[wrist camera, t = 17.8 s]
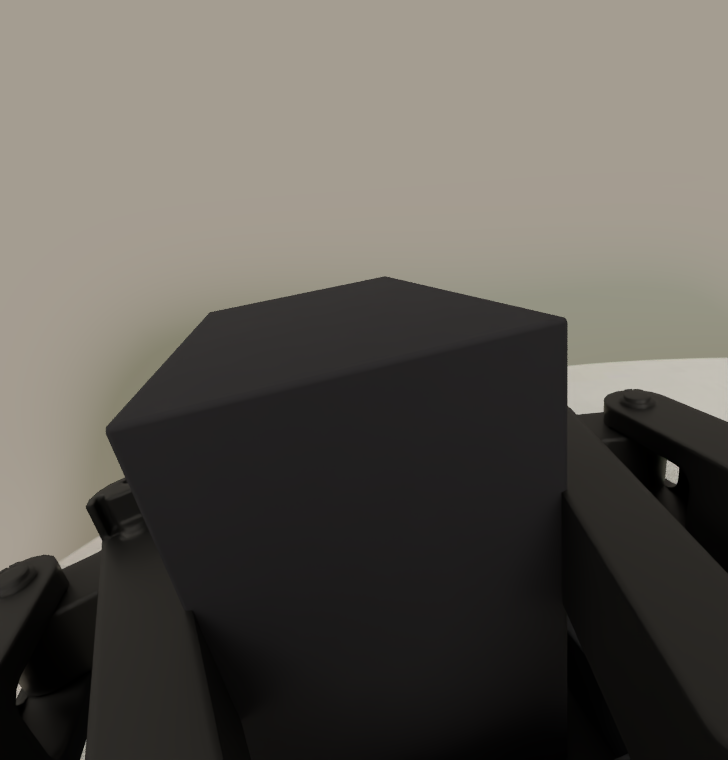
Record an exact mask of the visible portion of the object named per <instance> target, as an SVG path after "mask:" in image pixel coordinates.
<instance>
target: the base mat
mask: <svg viewBox="0 0 728 760" xmlns="http://www.w3.org/2000/svg"><path fill="white" fill-rule="evenodd" d="M566 760H631V758H630V756H629V753H628V751H627V749H626V747H625V744H624V742H623V740H622V738H621V735H620V733H619V731H618V728H617V726H616V724H615V722H614V719H613V717H612V715H611V713H610V710H609V708H608V706H607V703H606V701H605V699H604V697H603V694H602V692H601V690H600V688H599V685H598V683H597V681H596V678H595V676H594V674H593V672H592V669H591V667H590V665H589V663H588V660H587V658H586V656H585V653H584V651H583V649H582V647H581V644H580V642H579V640H578V638H577V635H576V633H575V631H574V628H573V626H572V624H571V622H570V619H569V617H568V615H567V759H566Z"/></svg>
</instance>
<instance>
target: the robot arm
mask: <svg viewBox="0 0 728 760" xmlns="http://www.w3.org/2000/svg"><path fill="white" fill-rule="evenodd" d="M667 460H669V461H670V462H672V463H674V464H675V465H677V466H678V467H679V477H678V482H677V485H676V484H674V483H672V482H670V481H668V480H667V479H665V474H666V463H667ZM86 509H87V511H88V513H89V515H90V517H91V519H92V521H93V523H94V525H95V527H96V529H97V531H98V533H99V535H100V537H101V539H102V550H101V551H99V552H97V553H95V554H94V555H92V556H90V557H87V558H85V559H83V560H81V561H79V562H77V563H75V564H72V565H70V566H68V567H66V568H64V569H61V567H60V565H59V563H58V562H57V560H56V559H55V557H54V556H50V555H41V556H36V557H32V558H29V559H26V560H24V561H21V562H17V563H15V564H13V565H11V566H9V568H5V569H4V570H2V571H0V760H80V758H81V755H82V752H83V748H84V745H85V742H86V754H85V760H251V758H250V754H249V750H248V746H247V743H246V739H245V735H244V731H243V727H242V724H241V720H240V718H239V716H238V714H237V711H236V709H235V707H234V704H233V702H232V700H231V698H230V695H229V693H228V691H227V688H226V686H225V684H224V681H223V679H222V677H221V675H220V672H219V670H218V668H217V665H216V663H215V661H214V659H213V656H212V654H211V652H210V649H209V647H208V645H207V643H206V640H205V638H204V636H203V633H202V631H201V629H200V627H199V624H198V622H197V620H196V617H195V615H194V613H193V611H192V610H190V611H184V609H183V606H182V604H181V602H180V600H179V597H178V595H177V593H176V591H175V588H174V586H173V584H172V582H171V579H170V577H169V575H168V573H167V570H166V568H165V566H164V564H163V561H162V559H161V557H160V555H159V552H158V550H157V548H156V545H155V543H154V541H153V539H152V536H151V534H150V532H149V530H148V527H147V525H146V523H145V521H144V518H143V516H142V514H141V512H140V509H139V507H138V505H137V503H136V500H135V498H134V496H133V494H132V491H131V489H130V487H129V485H128V482H127V480H126V478H123V479H121V480H118V481H116V482H114V483H112V484H110V485H108V486H107V487H105V488H104V489H102V490H100V491H99V492H97V493H96V494H95V495H94V496H93V497H92V498H91V499H90V500H89V502H88V503H87V505H86ZM562 603H563V606H564V608H565V610H566V613H567V615H568V617H569V619H570V622H571V624H572V626H573V628H574V631H575V633H576V635H577V638H578V640H579V642H580V644H581V647H582V649H583V651H584V653H585V656H586V658H587V660H588V663H589V665H590V667H591V669H592V672H593V674H594V676H595V678H596V681H597V683H598V685H599V688H600V690H601V692H602V694H603V697H604V699H605V701H606V703H607V706H608V708H609V710H610V713H611V715H612V717H613V719H614V722H615V724H616V726H617V728H618V731H619V733H620V735H621V738H622V740H623V742H624V744H625V747H626V749H627V751H628V753H629V756H630V758H631V760H728V422H726V421H724V420H721V419H719V418H716V417H714V416H712V415H709V414H707V413H704V412H702V411H699V410H697V409H694V408H692V407H690V406H687V405H685V404H682V403H680V402H677V401H675V400H673V399H670V398H668V397H665V396H663V395H660V394H656V393H653V392H647V391H643V390H640V389H633V390H632V389H627V390H624V391H618V392H614V393H611V394H609V395H607V396H606V397H605V398H604V412H601V413H591V414H581V415H576V414H575V413H574V412H573V410H572V409H571V408H569V407H568V406H567V490H566V491H564V492H562ZM18 683H19V684H20V686H21V687H22V689H21V691H20V693H19V695H18V697H17V699H16V689H17V686H18ZM86 739H87V741H86Z"/></svg>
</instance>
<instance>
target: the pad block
mask: <svg viewBox="0 0 728 760" xmlns="http://www.w3.org/2000/svg"><path fill="white" fill-rule="evenodd" d="M106 435H107V437H108V439H109V442H110V444H111V446H112V448H113V451H114V453H115V455H116V457H117V460H118V462H119V464H120V466H121V469H122V471H123V473H124V475H125V478H126V480H127V482H128V485H129V487H130V489H131V491H132V494H133V496H134V498H135V500H136V503H137V505H138V507H139V509H140V512H141V514H142V516H143V518H144V521H145V523H146V525H147V527H148V530H149V532H150V534H151V536H152V539H153V541H154V543H155V545H156V548H157V550H158V552H159V555H160V557H161V559H162V561H163V564H164V566H165V568H166V570H167V573H168V575H169V577H170V579H171V582H172V584H173V586H174V588H175V591H176V593H177V595H178V597H179V600H180V602H181V604H182V606H183V609H184V611H190V610H192V611H193V613H194V615H195V617H196V620H197V622H198V624H199V627H200V629H201V631H202V633H203V636H204V638H205V640H206V643H207V645H208V647H209V649H210V652H211V654H212V656H213V659H214V661H215V663H216V665H217V668H218V670H219V672H220V675H221V677H222V679H223V681H224V684H225V686H226V688H227V691H228V693H229V695H230V698H231V700H232V702H233V704H234V707H235V709H236V711H237V714H238V716H239V718H240V720H241V724H242V727H243V731H244V735H245V739H246V743H247V746H248V750H249V754H250V758H251V760H566V759H567V613H566V610H565V608H564V606H563V603H562V492H564V491H566V490H567V321H566V319H565V318H564V317H559V316H555V315H550V314H546V313H542V312H538V311H533V310H529V309H525V308H520V307H515V306H511V305H507V304H503V303H499V302H494V301H490V300H486V299H481V298H477V297H472V296H468V295H464V294H459V293H455V292H450V291H446V290H442V289H438V288H433V287H428V286H425V285H420V284H416V283H412V282H407V281H403V280H398V279H394V278H390V277H380V278H375V279H371V280H365V281H361V282H356V283H351V284H346V285H341V286H336V287H332V288H326V289H322V290H317V291H312V292H307V293H302V294H297V295H293V296H288V297H283V298H278V299H273V300H268V301H263V302H258V303H253V304H249V305H244V306H239V307H234V308H229V309H224V310H219V311H214V312H210V313H209V314H208V315H207V316H206V317H205V318H204V320H203V321H202V322H201V323H200V324H199V325H198V326H197V327H196V328H195V329H194V330H193V332H192V333H191V334H190V335H189V336H188V337H187V338H186V339H185V340H184V342H183V343H182V344H181V345H180V346H179V347H178V348H177V349H176V350H175V352H174V353H173V354H172V355H171V356H170V357H169V358H168V359H167V361H166V362H165V363H164V364H163V365H162V366H161V367H160V368H159V369H158V370H157V371H156V373H155V374H154V375H153V376H152V377H151V378H150V379H149V380H148V381H147V383H146V384H145V385H144V386H143V387H142V388H141V389H140V390H139V391H138V392H137V394H136V395H135V396H134V397H133V398H132V399H131V400H130V401H129V402H128V403H127V405H126V406H125V407H124V408H123V409H122V410H121V411H120V412H119V413H118V415H117V416H116V417H115V418H114V419H113V420H112V421H111V422H110V423H109V425H108V426H107V427H106Z"/></svg>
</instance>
